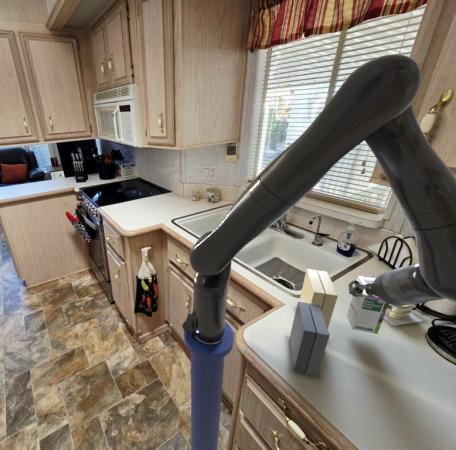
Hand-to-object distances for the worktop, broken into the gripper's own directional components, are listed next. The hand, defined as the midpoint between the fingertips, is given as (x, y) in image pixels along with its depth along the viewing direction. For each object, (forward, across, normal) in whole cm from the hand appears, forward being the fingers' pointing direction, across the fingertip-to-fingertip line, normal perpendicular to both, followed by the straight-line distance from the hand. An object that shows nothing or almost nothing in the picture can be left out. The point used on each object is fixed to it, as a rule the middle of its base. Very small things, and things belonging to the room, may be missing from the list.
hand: (367, 294), depth 68 cm
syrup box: (+5, 0, +8) cm, 10 cm away
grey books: (-1, +16, +19) cm, 25 cm away
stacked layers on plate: (+16, -13, +2) cm, 21 cm away
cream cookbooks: (+8, +12, +10) cm, 17 cm away
